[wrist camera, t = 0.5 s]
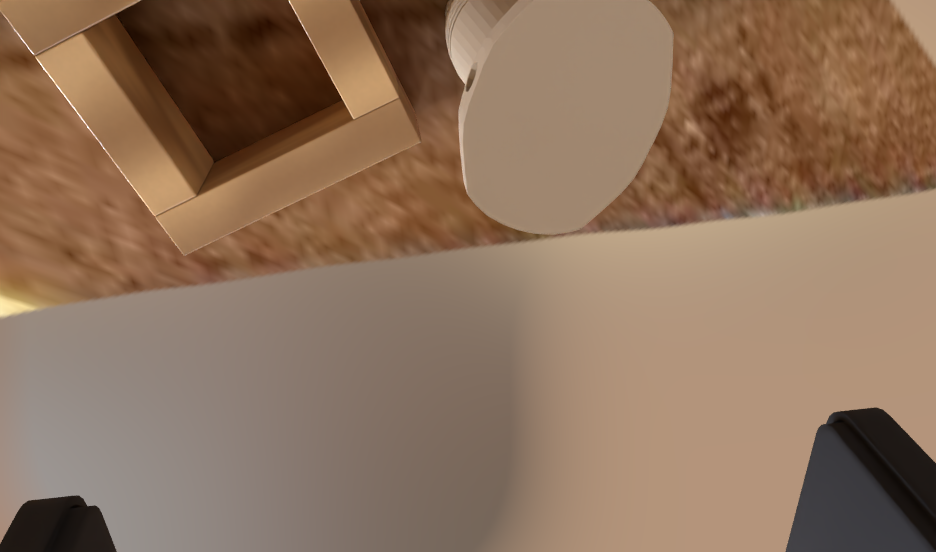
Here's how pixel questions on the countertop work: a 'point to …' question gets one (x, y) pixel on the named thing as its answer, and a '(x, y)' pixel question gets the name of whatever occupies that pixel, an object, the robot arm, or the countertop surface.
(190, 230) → the socket block
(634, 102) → the handle
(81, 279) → the countertop surface
